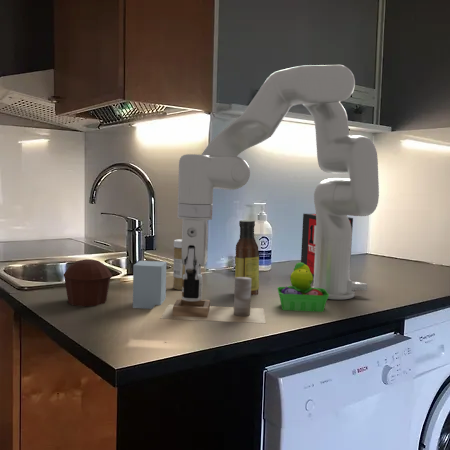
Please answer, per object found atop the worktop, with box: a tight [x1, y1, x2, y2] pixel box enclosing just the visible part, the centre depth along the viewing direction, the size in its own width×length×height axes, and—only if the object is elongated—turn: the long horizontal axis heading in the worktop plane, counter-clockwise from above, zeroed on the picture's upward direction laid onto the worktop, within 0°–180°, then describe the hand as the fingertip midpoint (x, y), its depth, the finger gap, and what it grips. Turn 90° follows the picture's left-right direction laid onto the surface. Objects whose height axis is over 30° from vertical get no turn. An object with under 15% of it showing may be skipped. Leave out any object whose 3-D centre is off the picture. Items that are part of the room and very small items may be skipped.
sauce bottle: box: [234, 219, 260, 296], centre depth 133 cm, size 7×6×20 cm
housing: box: [132, 260, 167, 310], centre depth 120 cm, size 6×6×10 cm
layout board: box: [159, 277, 267, 324], centre depth 111 cm, size 22×12×9 cm, turn 88°
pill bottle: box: [181, 264, 203, 301], centre depth 111 cm, size 4×4×8 cm
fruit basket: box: [276, 261, 329, 313], centre depth 119 cm, size 11×9×11 cm
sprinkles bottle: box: [172, 238, 185, 291], centre depth 139 cm, size 5×5×14 cm
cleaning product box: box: [300, 213, 354, 280], centre depth 162 cm, size 16×9×20 cm, turn 16°
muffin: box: [63, 258, 113, 307], centre depth 121 cm, size 12×11×10 cm
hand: (192, 294), depth 111 cm, fingers closed on pill bottle, 4 cm apart
